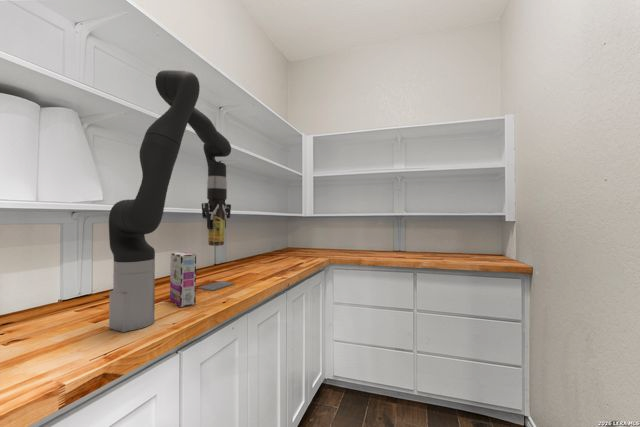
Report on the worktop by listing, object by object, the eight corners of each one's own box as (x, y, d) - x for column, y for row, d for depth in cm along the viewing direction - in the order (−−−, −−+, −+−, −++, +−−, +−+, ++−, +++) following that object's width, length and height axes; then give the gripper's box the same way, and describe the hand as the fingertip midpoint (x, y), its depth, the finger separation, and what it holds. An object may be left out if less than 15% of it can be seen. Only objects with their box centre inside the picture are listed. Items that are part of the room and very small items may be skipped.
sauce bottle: (204, 245, 115) (205, 196, 115) (214, 244, 121) (215, 197, 121) (218, 246, 113) (218, 196, 113) (228, 244, 119) (228, 197, 119)
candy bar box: (196, 304, 93) (197, 254, 93) (180, 308, 90) (180, 255, 90) (184, 297, 101) (185, 251, 101) (169, 300, 98) (169, 252, 98)
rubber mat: (212, 291, 110) (212, 289, 110) (197, 288, 113) (197, 287, 113) (234, 284, 121) (234, 283, 121) (220, 282, 124) (220, 281, 124)
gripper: (210, 186, 109) (210, 230, 109) (236, 189, 122) (236, 228, 122) (196, 186, 112) (195, 229, 112) (223, 190, 125) (222, 228, 125)
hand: (216, 228), depth 117 cm, fingers closed on sauce bottle, 6 cm apart
